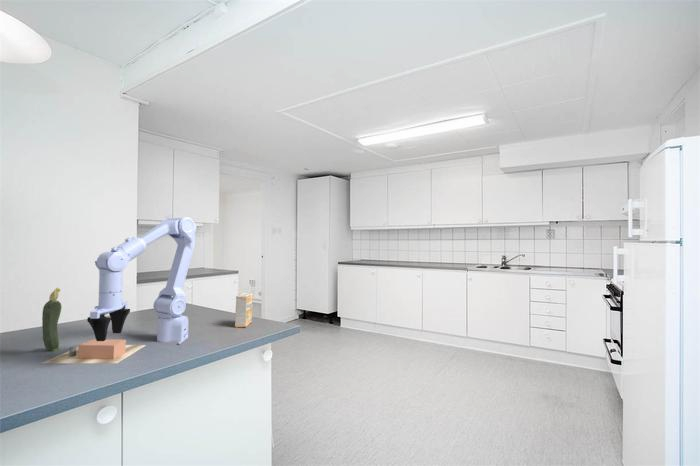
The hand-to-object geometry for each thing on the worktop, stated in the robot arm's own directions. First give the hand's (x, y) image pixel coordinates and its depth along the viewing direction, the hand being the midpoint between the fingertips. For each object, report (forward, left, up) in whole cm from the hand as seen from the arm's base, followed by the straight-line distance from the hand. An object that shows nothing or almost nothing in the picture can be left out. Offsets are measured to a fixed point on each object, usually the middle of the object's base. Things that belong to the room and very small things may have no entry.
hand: (109, 336), depth 101 cm
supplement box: (-31, -39, -7) cm, 50 cm away
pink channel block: (+2, 0, -6) cm, 6 cm away
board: (+4, -2, -6) cm, 8 cm away
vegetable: (+20, -5, -7) cm, 22 cm away
